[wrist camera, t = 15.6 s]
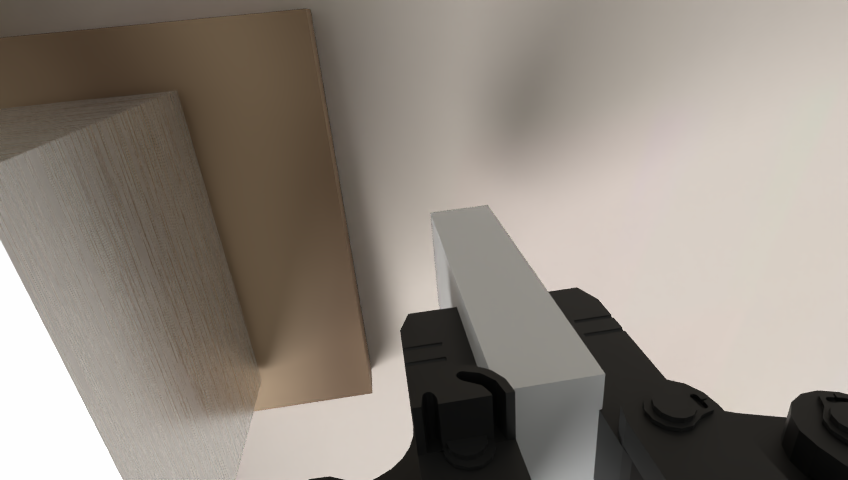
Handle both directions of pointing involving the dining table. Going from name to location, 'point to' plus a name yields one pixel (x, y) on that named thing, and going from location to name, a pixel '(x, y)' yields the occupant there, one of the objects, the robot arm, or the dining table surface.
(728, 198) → the dining table surface
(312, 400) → the caddy
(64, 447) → the bookend
